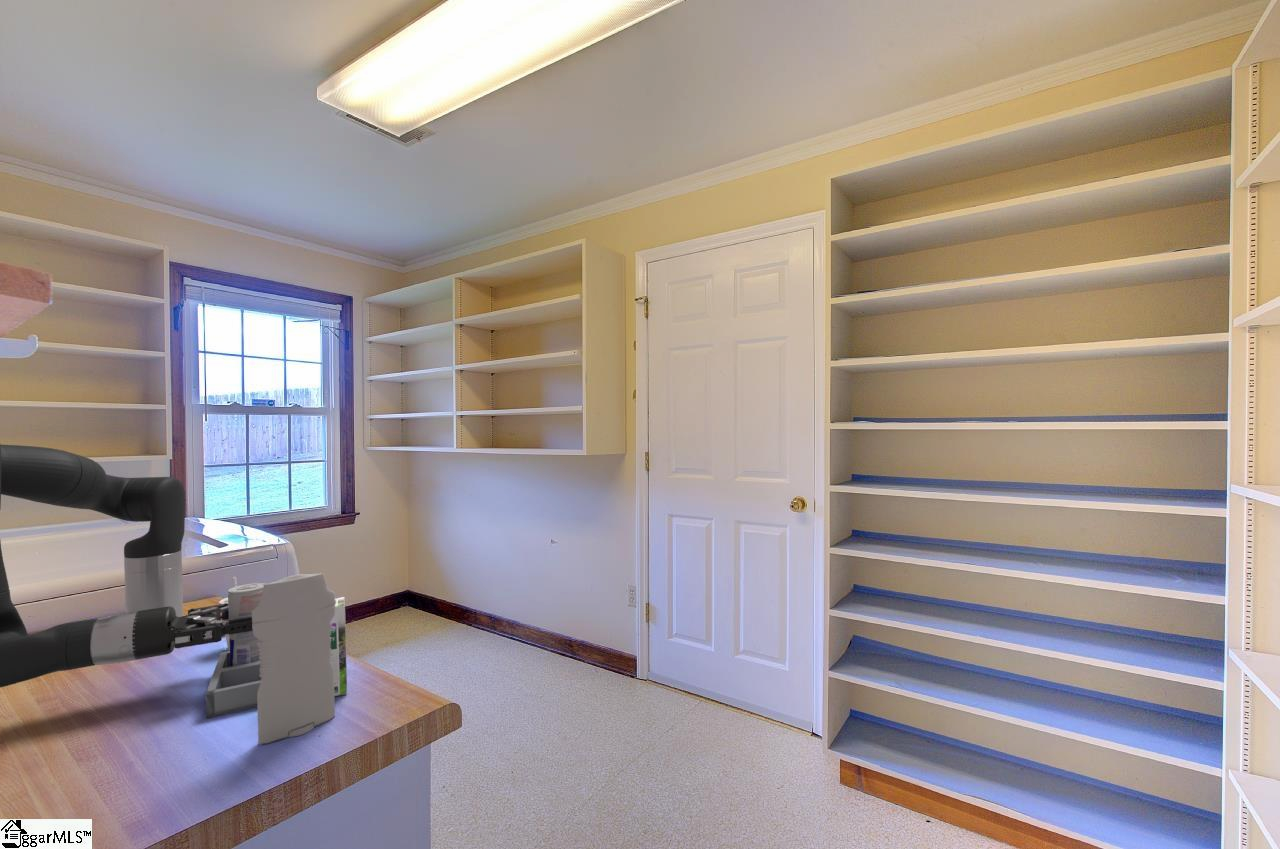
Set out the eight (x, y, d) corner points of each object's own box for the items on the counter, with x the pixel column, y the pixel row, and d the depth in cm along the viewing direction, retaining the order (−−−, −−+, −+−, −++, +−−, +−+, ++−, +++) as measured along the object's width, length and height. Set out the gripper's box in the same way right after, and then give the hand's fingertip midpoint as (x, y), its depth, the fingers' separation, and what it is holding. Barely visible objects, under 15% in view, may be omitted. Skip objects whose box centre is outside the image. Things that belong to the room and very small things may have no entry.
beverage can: (277, 665, 101) (274, 581, 101) (253, 680, 96) (250, 591, 96) (248, 665, 102) (245, 581, 102) (222, 679, 96) (219, 591, 96)
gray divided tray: (221, 672, 101) (220, 652, 101) (284, 660, 105) (284, 640, 105) (206, 718, 85) (205, 694, 85) (281, 701, 90) (281, 678, 90)
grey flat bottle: (332, 710, 86) (328, 565, 86) (343, 718, 84) (340, 569, 84) (250, 740, 78) (246, 580, 78) (259, 751, 76) (256, 586, 76)
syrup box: (305, 703, 89) (303, 610, 89) (308, 688, 94) (306, 600, 94) (347, 695, 91) (345, 604, 91) (346, 680, 96) (345, 594, 96)
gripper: (123, 625, 85) (254, 605, 93) (145, 600, 97) (259, 584, 106) (124, 675, 85) (255, 650, 93) (146, 644, 97) (260, 625, 106)
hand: (257, 615), depth 99 cm, fingers open, 8 cm apart
